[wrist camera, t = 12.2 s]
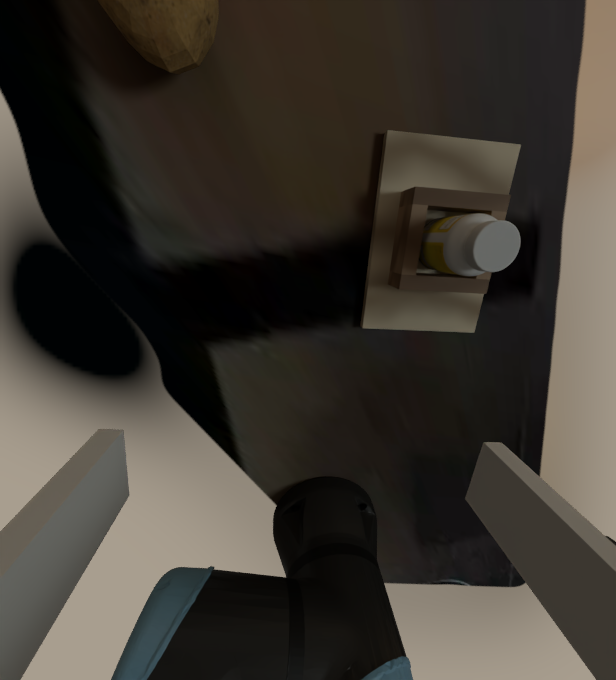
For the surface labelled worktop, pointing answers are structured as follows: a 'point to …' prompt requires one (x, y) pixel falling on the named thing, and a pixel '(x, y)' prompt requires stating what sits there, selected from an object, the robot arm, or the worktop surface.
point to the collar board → (420, 208)
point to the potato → (166, 29)
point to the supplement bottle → (469, 244)
